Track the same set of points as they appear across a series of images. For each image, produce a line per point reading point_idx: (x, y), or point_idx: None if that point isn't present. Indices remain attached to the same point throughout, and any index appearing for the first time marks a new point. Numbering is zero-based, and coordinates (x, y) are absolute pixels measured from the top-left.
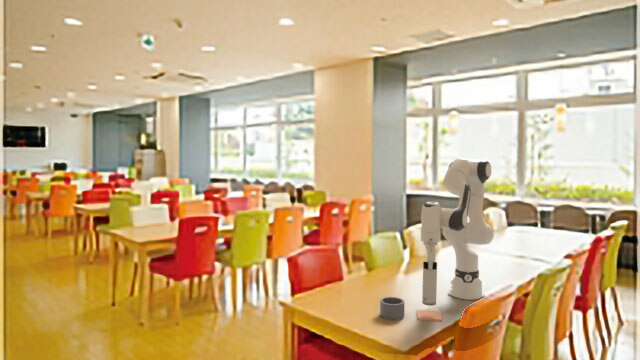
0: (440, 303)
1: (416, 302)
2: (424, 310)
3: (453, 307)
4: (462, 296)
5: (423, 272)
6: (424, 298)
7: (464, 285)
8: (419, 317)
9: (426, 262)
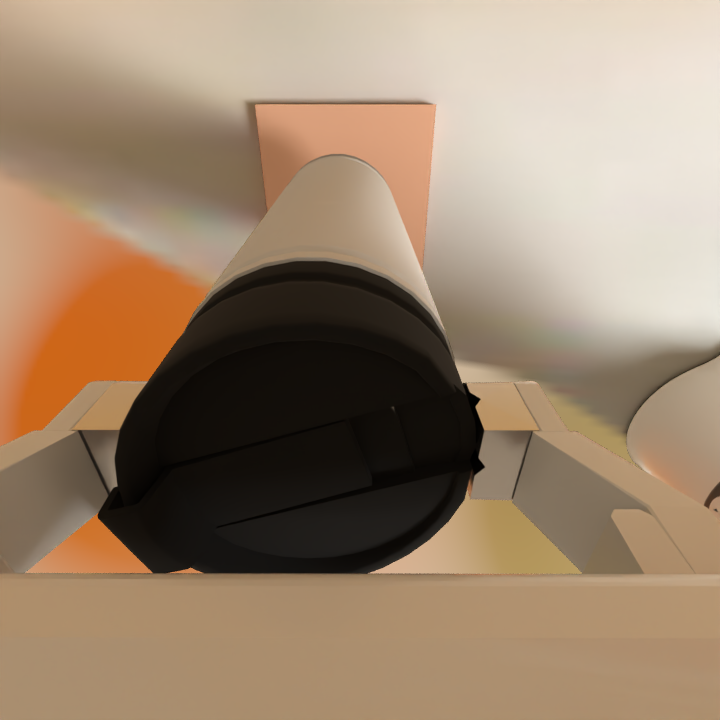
0: (592, 279)
1: (636, 97)
2: (420, 164)
3: (515, 345)
4: (658, 408)
5: (271, 237)
6: (291, 180)
7: (707, 463)
8: (268, 121)
9: (338, 396)
